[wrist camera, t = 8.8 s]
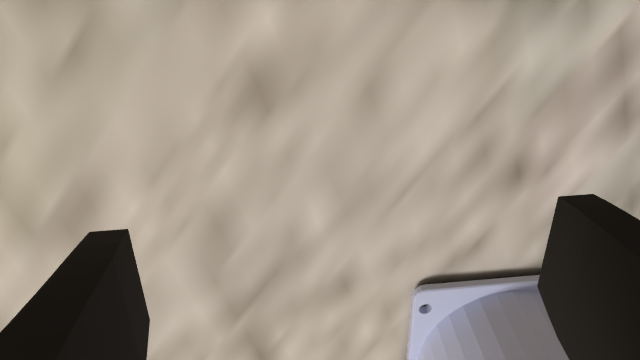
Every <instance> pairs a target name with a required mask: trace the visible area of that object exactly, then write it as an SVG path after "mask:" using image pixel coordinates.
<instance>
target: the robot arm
mask: <svg viewBox="0 0 640 360" xmlns="http://www.w3.org/2000/svg"><path fill="white" fill-rule="evenodd" d="M425 304H428V305H426V306H424V307H421V306H422V305H425ZM149 322H150V319H149V315H148V310H147V306H146V302H145V298H144V294H143V290H142V285H141V281H140V277H139V273H138V269H137V265H136V260H135V256H134V252H133V248H132V244H131V240H130V235H129V231H128V229H123V230H109V231H96V232H89V233H88V234H87V235H86V237H85V238H84V239H83V240H82V241H81V242H80V243H79V244H78V245H77V247H76V248H75V249H74V250H73V251H72V252H71V253H70V255H69V256H68V257H67V258H66V259H65V260H64V262H63V263H62V264H61V265H60V266H59V267H58V269H57V270H56V271H55V272H54V273H53V274H52V275H51V277H50V278H49V279H48V280H47V281H46V282H45V284H44V285H43V286H42V287H41V288H40V289H39V290H38V292H37V293H36V294H35V295H34V296H33V297H32V298H31V299H30V300H29V302H28V303H27V304H26V305H25V306H24V307H23V308H22V309H21V310H20V312H19V313H18V314H17V315H16V316H15V317H14V318H13V319H12V320H11V321H10V323H9V324H8V325H7V326H6V327H5V328H4V329H3V330H2V331H1V332H0V360H146V357H147V347H148V335H149ZM406 360H640V220H638V219H637V218H635V217H633V216H632V215H630V214H628V213H627V212H625V211H623V210H622V209H620V208H618V207H616V206H615V205H613V204H611V203H609V202H607V201H606V200H604V199H602V198H600V197H598V196H596V195H594V194H587V195H574V196H561V197H558V200H557V205H556V209H555V213H554V217H553V222H552V226H551V230H550V234H549V238H548V243H547V247H546V251H545V255H544V260H543V264H542V268H541V272H540V275H532V276H520V277H508V278H497V279H485V280H473V281H461V282H449V283H438V284H426V285H421V286H419V287H417V288H416V289H415V290H414V291H413V293H412V299H411V311H410V322H409V334H408V345H407V357H406Z"/></svg>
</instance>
